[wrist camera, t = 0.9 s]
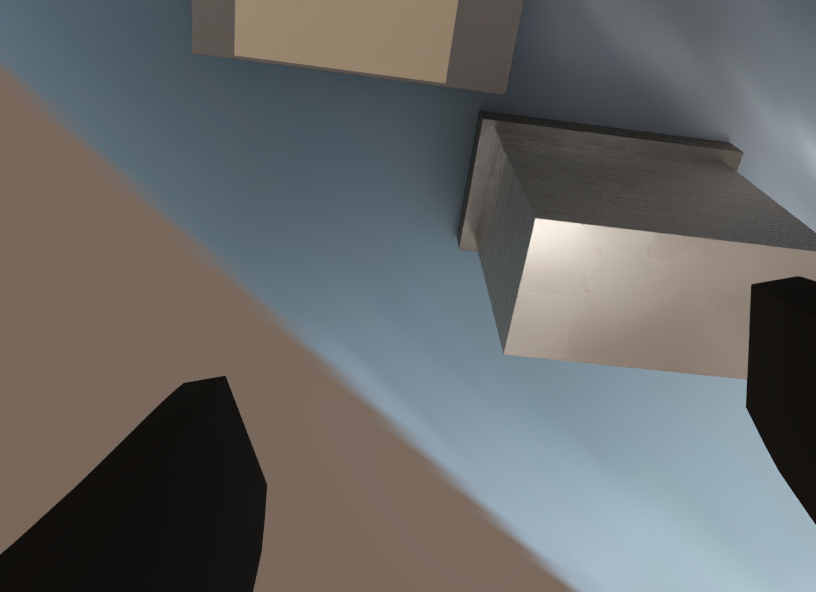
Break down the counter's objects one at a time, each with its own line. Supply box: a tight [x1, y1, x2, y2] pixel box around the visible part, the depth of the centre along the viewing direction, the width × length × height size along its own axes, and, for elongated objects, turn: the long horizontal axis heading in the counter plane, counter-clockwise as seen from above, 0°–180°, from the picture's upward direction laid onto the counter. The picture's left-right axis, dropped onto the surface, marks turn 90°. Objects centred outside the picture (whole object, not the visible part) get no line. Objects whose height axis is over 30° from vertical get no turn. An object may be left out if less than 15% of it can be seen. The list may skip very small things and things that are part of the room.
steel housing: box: [457, 111, 816, 379], centre depth 17 cm, size 7×4×6 cm, turn 82°
